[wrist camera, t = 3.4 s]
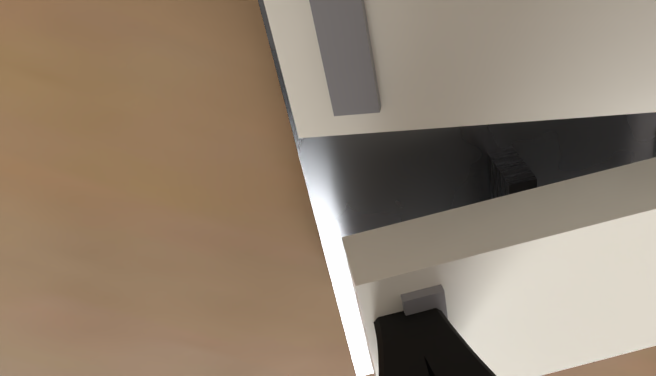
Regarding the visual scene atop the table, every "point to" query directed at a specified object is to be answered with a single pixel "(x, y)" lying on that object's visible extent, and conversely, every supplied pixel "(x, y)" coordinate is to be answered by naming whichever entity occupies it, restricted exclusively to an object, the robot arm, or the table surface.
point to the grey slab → (444, 176)
